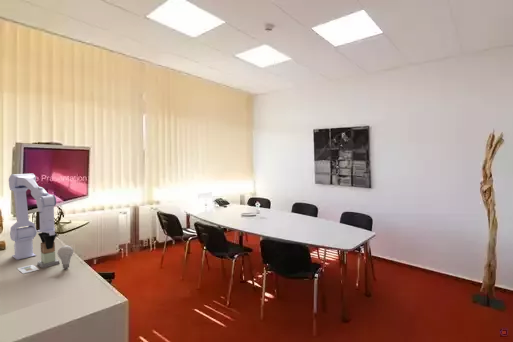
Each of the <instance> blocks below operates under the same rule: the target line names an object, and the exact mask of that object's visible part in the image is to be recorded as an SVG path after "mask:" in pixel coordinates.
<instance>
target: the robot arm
mask: <svg viewBox="0 0 513 342" xmlns="http://www.w3.org/2000/svg"><path fill="white" fill-rule="evenodd" d="M8 186H9V190H10V191H13V196H14V197H13V198H14V199H13V200H14V207H15V216H16V222H15V223H14V224H12V225H11V227H10V232H9V236H10V237H9V238H10V239H11V241H12V242H14V245H13V247H14V250H13V251H14V254H12V258H14V259H15V260H18V261H19V260H22V259H27V258H31V257H36V256H37V255H36V254H35V253H34V250H33V249H34V245H33V243H34V241H33V240H34V238H35V237H36V236H37V235H38V237H39V238H40V240H41V243H42V242H45V244H46V248H47V249H51V248H53V244H54V242H55V240H56V238H57V235H58V233H56V232H55V231H56V228H55V207H56V205H57V198H56V196H55V194H49V192H47V190H46V189H45V188H44V187H42V186H39V185H38V183H37V178H36V174H34V173H32V172H31V173H16V174H14V173H12V174H10V176H9V177H8ZM28 190H30V195H31V196H32V198H33V199H34V200H35V201H36V206H37V212H38V214H39V215H38V216H39V229H38V230H37V228H36V224H35V223H34V222H33V221H31V220H29V218H30V217H29V210H28V201H27V199H28V198H27V192H28Z"/></svg>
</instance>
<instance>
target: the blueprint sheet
mask: <svg viewBox="0 0 513 342" xmlns="http://www.w3.org/2000/svg"><path fill="white" fill-rule="evenodd" d="M16 270H18V271H19V272H20V273H21V274H23V275H24V274H27V273H31V272H35V271H39V270H40V269H39V268H38V267H37V266H35V265H34V264H30V265H25V266H21V267H18V268H16Z"/></svg>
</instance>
